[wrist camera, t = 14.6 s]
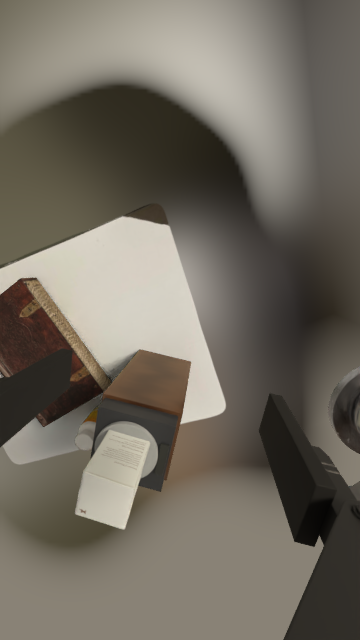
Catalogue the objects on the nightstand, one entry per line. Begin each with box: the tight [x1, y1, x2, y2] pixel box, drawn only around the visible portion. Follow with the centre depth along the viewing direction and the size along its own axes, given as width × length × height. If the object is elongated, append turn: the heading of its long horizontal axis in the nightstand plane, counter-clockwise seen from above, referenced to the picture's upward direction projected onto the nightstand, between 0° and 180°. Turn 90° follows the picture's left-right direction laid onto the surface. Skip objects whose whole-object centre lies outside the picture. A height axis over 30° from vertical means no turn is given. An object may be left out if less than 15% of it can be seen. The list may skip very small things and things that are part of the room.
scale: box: [91, 398, 178, 492], centre depth 35 cm, size 11×11×3 cm
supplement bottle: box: [75, 406, 99, 451], centre depth 55 cm, size 5×5×10 cm
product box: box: [75, 430, 150, 529], centre depth 30 cm, size 6×6×7 cm
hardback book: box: [0, 278, 111, 427], centre depth 55 cm, size 29×19×5 cm, turn 33°
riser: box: [102, 350, 191, 480], centre depth 46 cm, size 12×12×20 cm
